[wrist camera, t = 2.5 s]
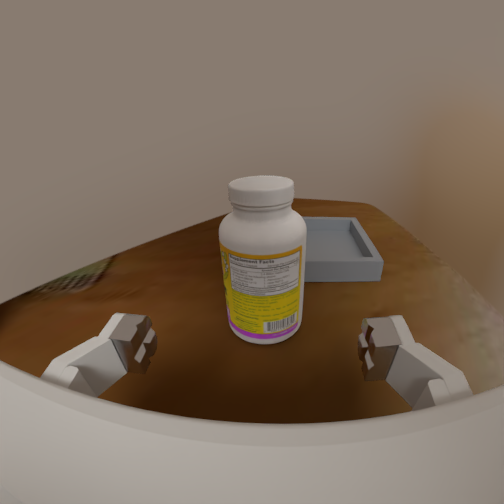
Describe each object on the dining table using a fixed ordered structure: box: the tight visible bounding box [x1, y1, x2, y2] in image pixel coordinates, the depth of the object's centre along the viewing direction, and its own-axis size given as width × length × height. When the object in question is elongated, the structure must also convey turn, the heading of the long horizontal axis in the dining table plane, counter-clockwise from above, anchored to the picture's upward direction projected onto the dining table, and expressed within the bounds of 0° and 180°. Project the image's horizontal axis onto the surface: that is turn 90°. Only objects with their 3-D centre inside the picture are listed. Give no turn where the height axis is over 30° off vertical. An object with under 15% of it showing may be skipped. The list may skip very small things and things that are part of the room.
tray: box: [302, 217, 384, 282], centre depth 37 cm, size 14×14×3 cm
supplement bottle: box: [219, 176, 307, 344], centre depth 23 cm, size 7×7×13 cm
